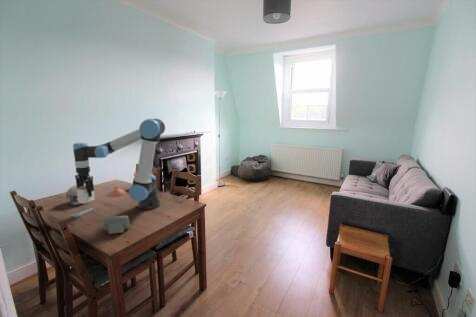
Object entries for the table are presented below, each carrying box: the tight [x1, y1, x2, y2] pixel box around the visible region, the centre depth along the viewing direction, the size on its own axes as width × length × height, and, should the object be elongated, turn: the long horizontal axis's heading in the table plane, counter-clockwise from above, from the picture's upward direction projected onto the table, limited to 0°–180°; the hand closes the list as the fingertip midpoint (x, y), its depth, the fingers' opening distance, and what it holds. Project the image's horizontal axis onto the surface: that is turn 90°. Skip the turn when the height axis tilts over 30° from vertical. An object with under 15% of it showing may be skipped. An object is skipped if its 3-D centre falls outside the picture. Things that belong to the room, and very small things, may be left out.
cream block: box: [77, 185, 96, 205], centre depth 155 cm, size 5×8×10 cm, turn 160°
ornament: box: [65, 184, 84, 206], centre depth 174 cm, size 15×15×15 cm
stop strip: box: [72, 207, 94, 218], centre depth 159 cm, size 2×13×2 cm, turn 161°
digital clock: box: [102, 215, 131, 235], centre depth 136 cm, size 14×8×9 cm, turn 94°
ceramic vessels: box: [106, 171, 137, 198], centre depth 197 cm, size 35×21×19 cm, turn 136°
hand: (86, 200), depth 156 cm, fingers closed on cream block, 5 cm apart
